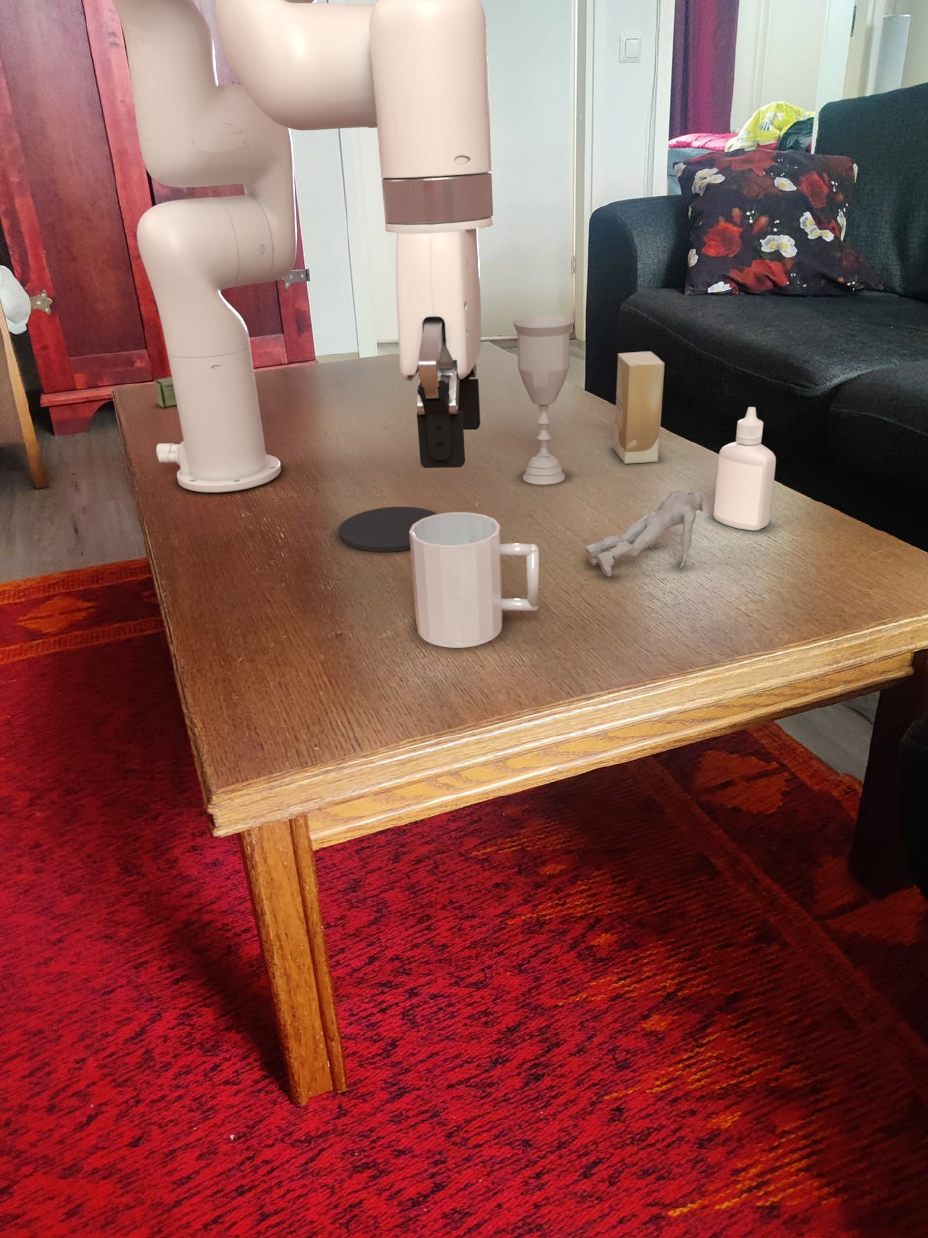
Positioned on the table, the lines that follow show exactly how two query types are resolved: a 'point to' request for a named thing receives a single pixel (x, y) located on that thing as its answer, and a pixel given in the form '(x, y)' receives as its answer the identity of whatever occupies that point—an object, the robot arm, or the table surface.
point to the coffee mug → (464, 578)
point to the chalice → (543, 381)
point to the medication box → (165, 392)
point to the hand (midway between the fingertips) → (452, 446)
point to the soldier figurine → (650, 530)
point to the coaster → (382, 528)
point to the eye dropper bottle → (745, 478)
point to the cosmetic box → (638, 407)
